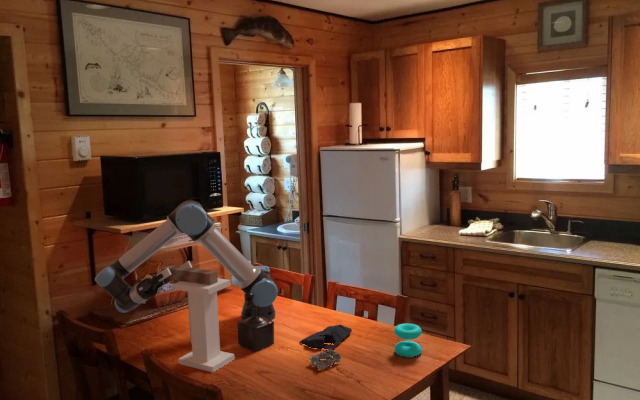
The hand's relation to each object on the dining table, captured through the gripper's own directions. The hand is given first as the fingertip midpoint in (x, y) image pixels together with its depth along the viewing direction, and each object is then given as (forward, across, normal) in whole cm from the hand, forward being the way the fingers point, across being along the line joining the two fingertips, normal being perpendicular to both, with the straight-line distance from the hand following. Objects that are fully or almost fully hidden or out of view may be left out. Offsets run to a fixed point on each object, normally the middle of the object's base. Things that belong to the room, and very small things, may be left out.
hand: (179, 267), depth 200 cm
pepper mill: (-4, -21, -37) cm, 43 cm away
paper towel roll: (-21, -14, -28) cm, 37 cm away
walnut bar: (+2, 0, -6) cm, 6 cm away
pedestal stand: (-8, 0, -35) cm, 36 cm away
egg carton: (+26, -17, -55) cm, 63 cm away
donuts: (+46, -38, -66) cm, 90 cm away
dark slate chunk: (+18, -37, -50) cm, 65 cm away
